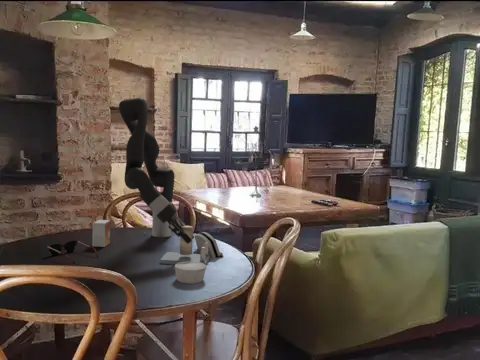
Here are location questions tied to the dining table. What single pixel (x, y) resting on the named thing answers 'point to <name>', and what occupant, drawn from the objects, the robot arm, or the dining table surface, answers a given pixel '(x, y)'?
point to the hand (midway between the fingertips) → (190, 240)
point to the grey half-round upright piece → (212, 247)
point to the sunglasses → (65, 248)
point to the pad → (187, 257)
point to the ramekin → (190, 272)
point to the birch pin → (185, 247)
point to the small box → (101, 233)
